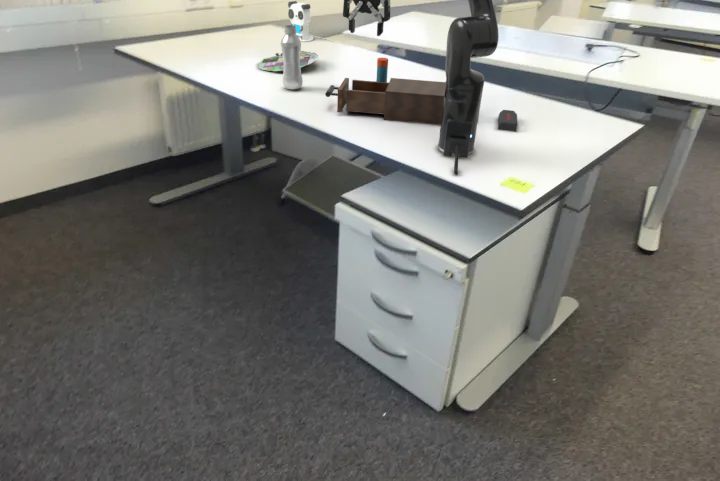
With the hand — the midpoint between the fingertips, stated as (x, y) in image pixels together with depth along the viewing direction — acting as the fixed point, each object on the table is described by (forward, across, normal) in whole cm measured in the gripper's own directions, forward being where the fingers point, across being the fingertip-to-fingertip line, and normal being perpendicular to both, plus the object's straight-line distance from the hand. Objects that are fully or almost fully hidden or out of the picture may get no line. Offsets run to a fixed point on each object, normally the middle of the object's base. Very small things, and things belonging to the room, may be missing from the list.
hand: (365, 34), depth 166 cm
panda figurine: (+20, -52, +68) cm, 88 cm away
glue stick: (+20, +4, +5) cm, 21 cm away
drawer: (+19, +3, -11) cm, 22 cm away
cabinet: (+20, +20, -8) cm, 29 cm away
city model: (+20, -38, +25) cm, 50 cm away
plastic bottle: (+20, -25, 0) cm, 32 cm away
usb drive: (+20, +47, -4) cm, 51 cm away
